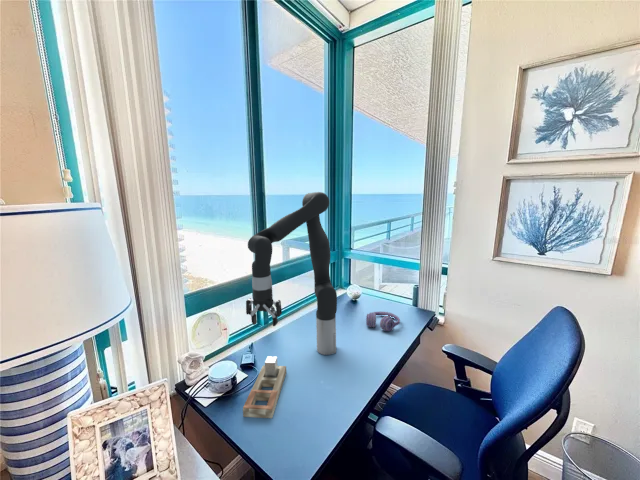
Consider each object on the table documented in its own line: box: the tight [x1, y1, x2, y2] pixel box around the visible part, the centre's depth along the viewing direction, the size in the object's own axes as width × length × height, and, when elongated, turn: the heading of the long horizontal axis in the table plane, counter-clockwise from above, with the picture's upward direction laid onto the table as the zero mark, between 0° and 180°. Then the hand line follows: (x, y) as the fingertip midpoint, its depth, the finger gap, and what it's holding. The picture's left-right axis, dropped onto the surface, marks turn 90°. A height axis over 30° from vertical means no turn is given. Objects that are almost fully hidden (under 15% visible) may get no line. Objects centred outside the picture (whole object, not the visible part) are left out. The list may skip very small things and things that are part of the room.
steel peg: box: [264, 355, 279, 378], centre depth 105 cm, size 4×4×9 cm
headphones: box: [365, 311, 401, 332], centre depth 149 cm, size 18×8×20 cm
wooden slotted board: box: [242, 364, 287, 419], centre depth 98 cm, size 10×23×3 cm, turn 175°
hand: (264, 324), depth 104 cm, fingers open, 8 cm apart
